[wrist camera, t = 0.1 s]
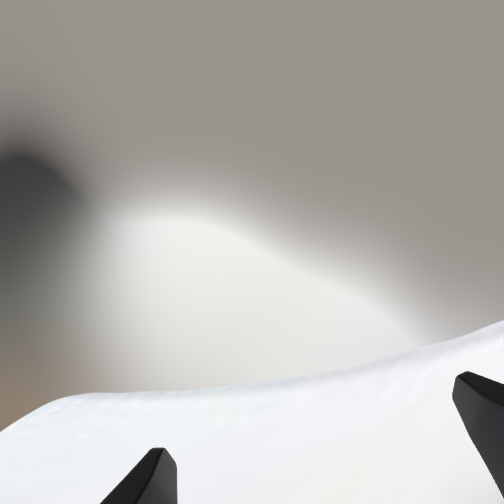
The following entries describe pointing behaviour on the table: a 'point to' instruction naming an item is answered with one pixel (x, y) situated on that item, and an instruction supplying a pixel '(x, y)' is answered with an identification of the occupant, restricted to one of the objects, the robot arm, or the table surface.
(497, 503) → the table surface
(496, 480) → the robot arm
